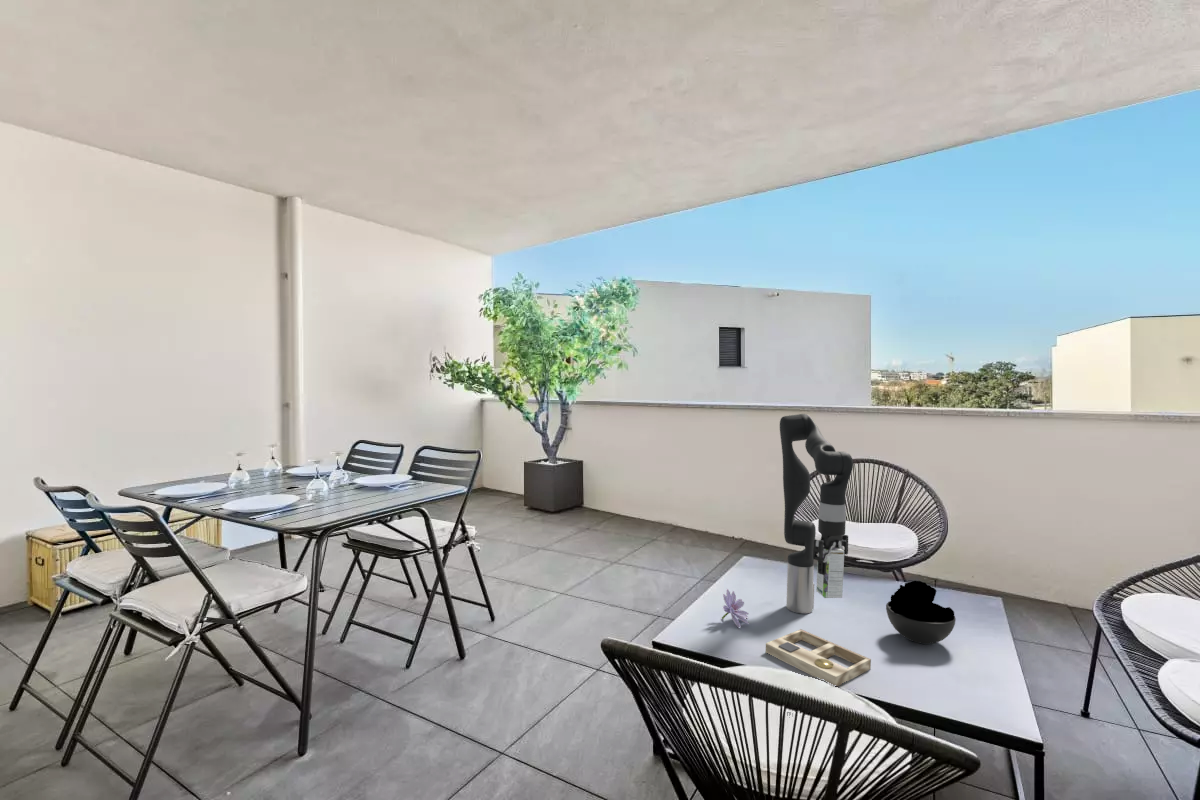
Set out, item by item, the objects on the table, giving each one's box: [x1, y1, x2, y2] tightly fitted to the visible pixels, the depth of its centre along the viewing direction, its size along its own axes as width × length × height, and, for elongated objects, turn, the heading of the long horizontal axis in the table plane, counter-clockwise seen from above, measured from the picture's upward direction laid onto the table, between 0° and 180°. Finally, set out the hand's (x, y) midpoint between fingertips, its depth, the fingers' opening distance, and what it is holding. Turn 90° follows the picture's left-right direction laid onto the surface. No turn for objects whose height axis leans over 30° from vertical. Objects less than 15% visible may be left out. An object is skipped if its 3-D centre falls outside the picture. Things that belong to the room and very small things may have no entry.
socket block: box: [765, 628, 872, 687], centre depth 172 cm, size 18×24×3 cm
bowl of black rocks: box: [885, 580, 957, 645], centre depth 186 cm, size 20×20×19 cm
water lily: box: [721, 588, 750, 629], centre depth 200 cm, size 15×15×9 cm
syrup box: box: [816, 548, 845, 599], centre depth 169 cm, size 6×6×14 cm
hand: (830, 571), depth 169 cm, fingers closed on syrup box, 8 cm apart
